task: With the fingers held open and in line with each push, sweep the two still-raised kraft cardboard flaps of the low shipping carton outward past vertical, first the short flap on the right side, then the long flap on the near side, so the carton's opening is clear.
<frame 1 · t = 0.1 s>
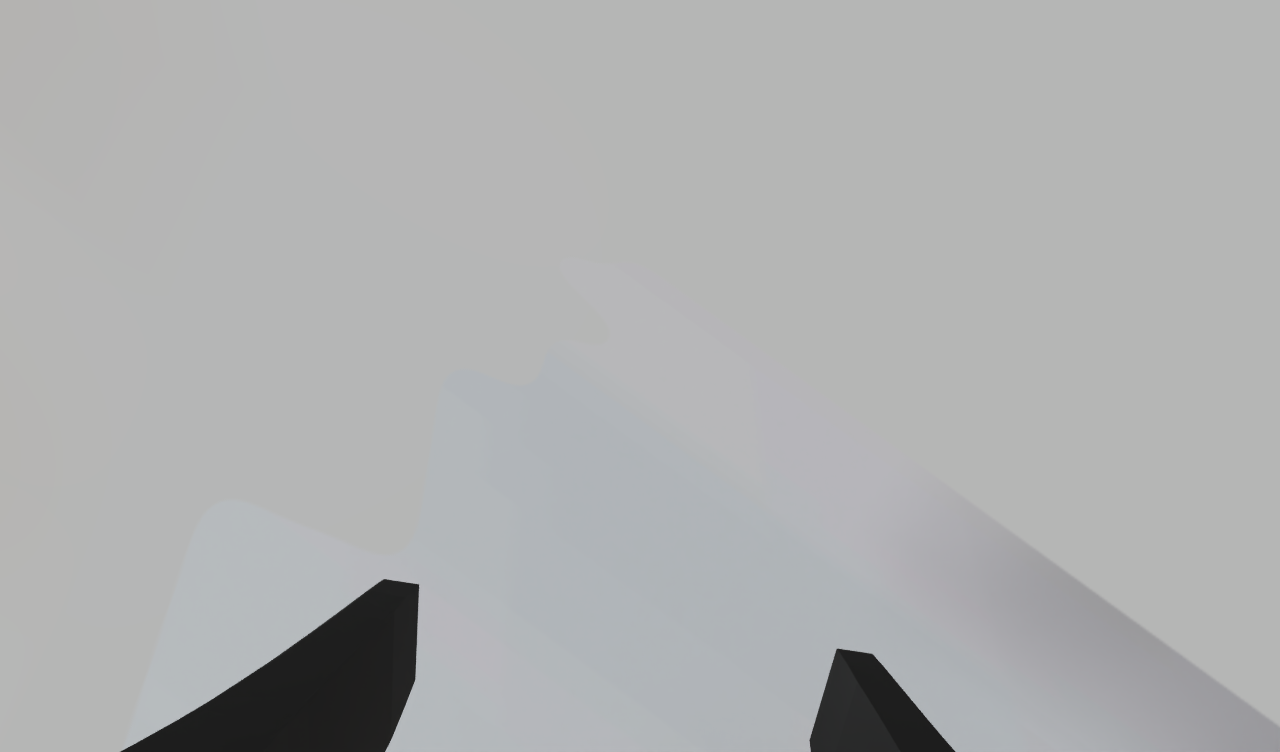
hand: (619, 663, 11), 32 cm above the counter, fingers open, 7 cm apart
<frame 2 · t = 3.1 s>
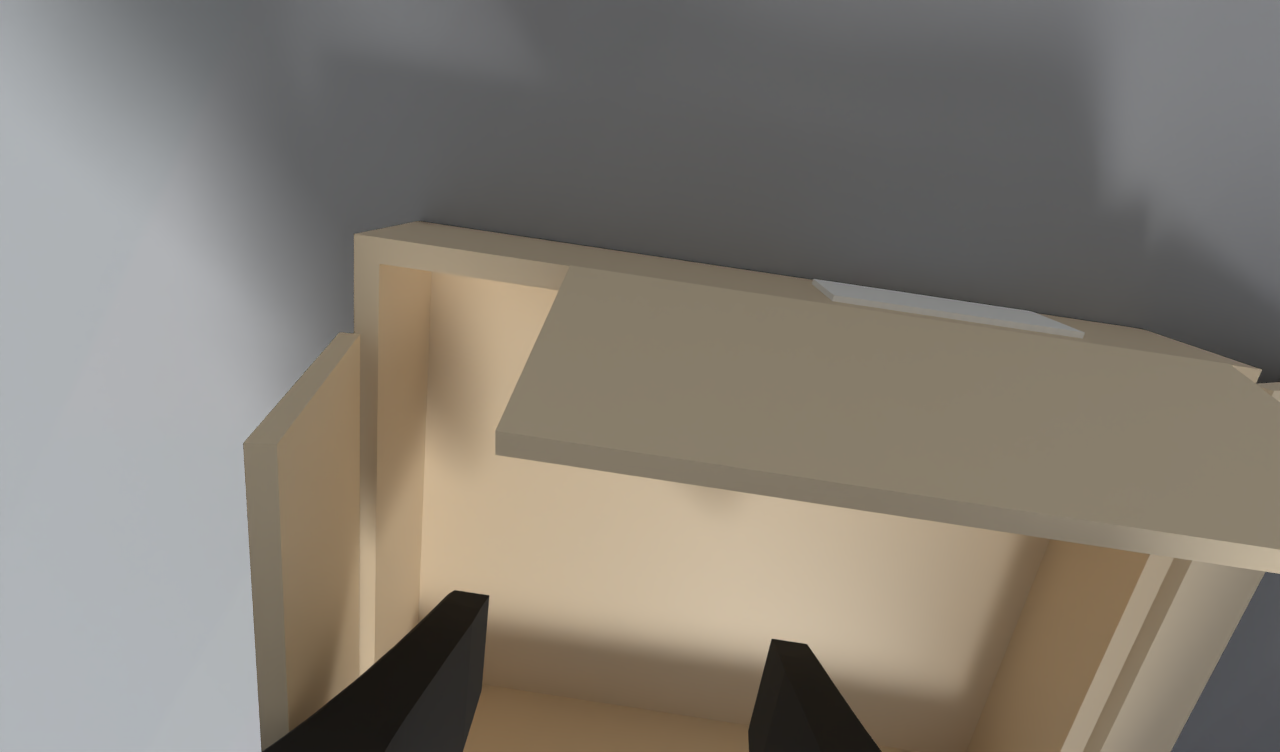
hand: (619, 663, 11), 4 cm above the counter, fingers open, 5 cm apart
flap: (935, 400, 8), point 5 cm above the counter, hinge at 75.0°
carton: (727, 524, 14), on the counter
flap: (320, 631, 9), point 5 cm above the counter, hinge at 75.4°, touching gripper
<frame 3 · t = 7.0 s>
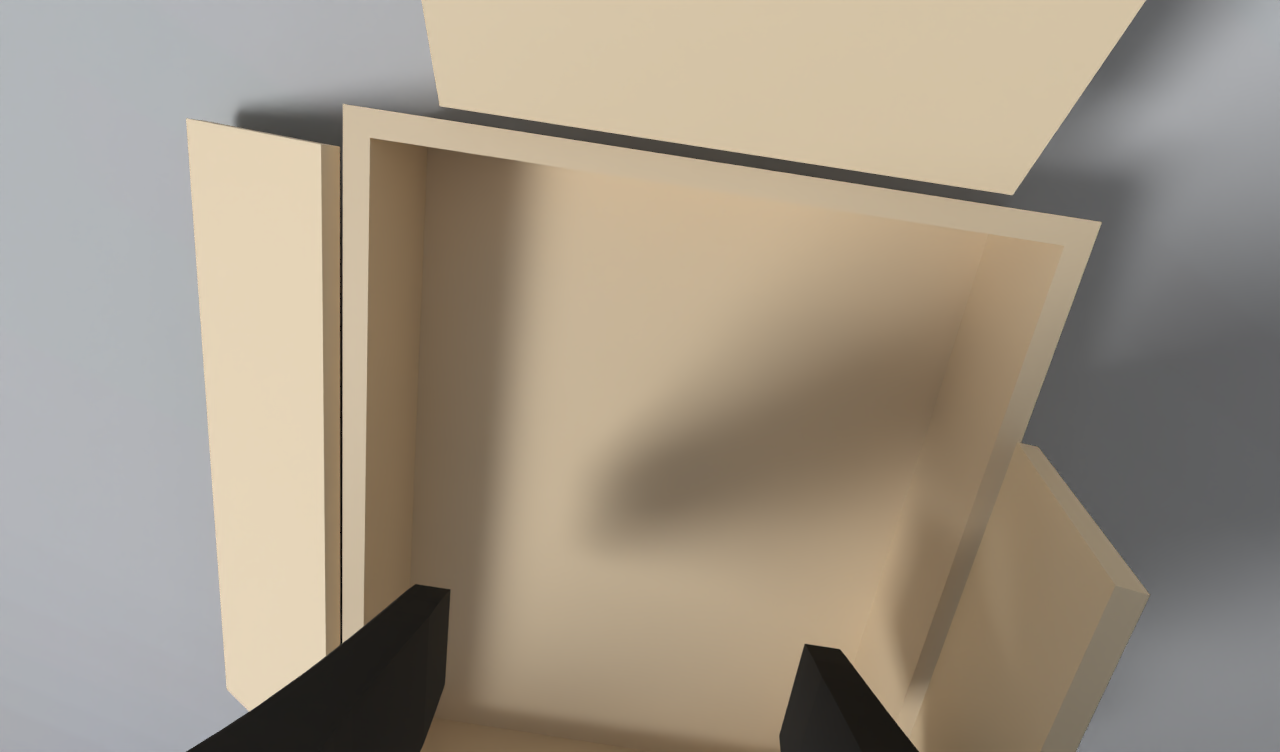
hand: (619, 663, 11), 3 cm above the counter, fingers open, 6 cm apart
carton: (653, 501, 14), on the counter
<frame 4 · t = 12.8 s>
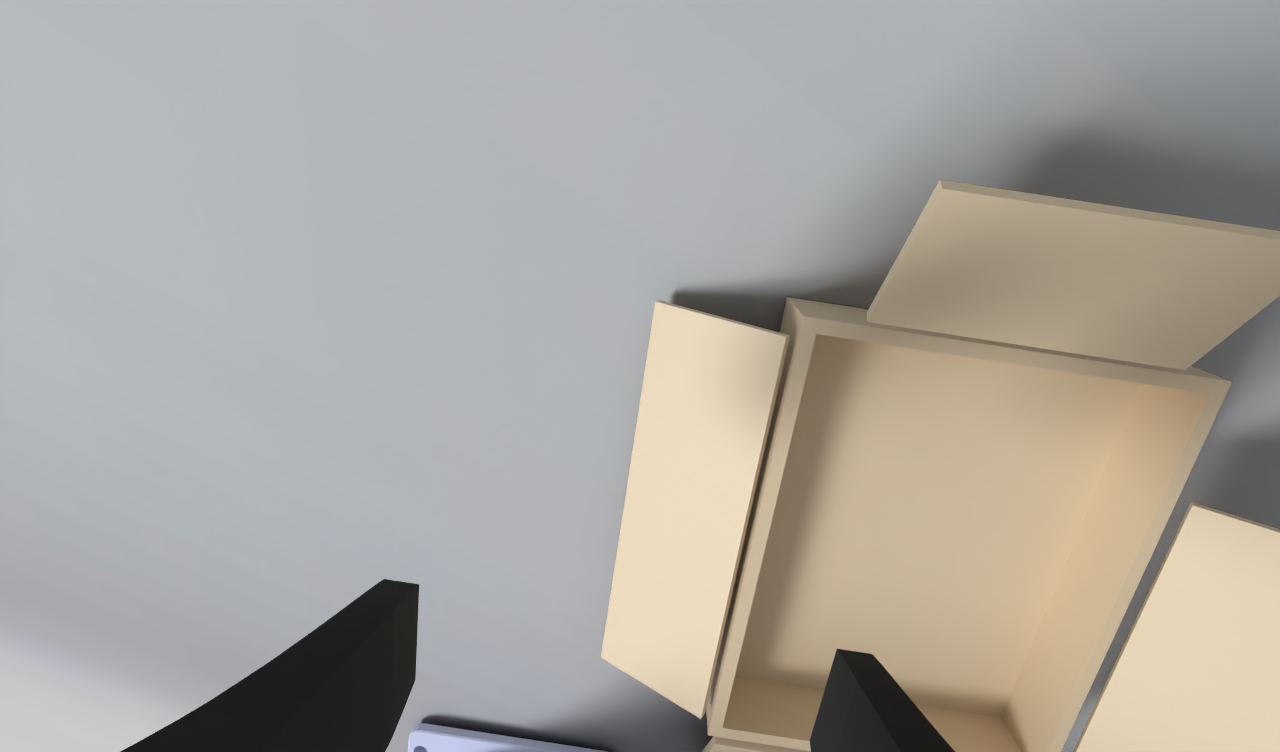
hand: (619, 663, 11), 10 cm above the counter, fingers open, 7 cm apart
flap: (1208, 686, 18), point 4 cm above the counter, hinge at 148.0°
carton: (907, 531, 21), on the counter
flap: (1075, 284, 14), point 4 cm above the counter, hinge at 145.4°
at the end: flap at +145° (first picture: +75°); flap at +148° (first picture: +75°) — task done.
